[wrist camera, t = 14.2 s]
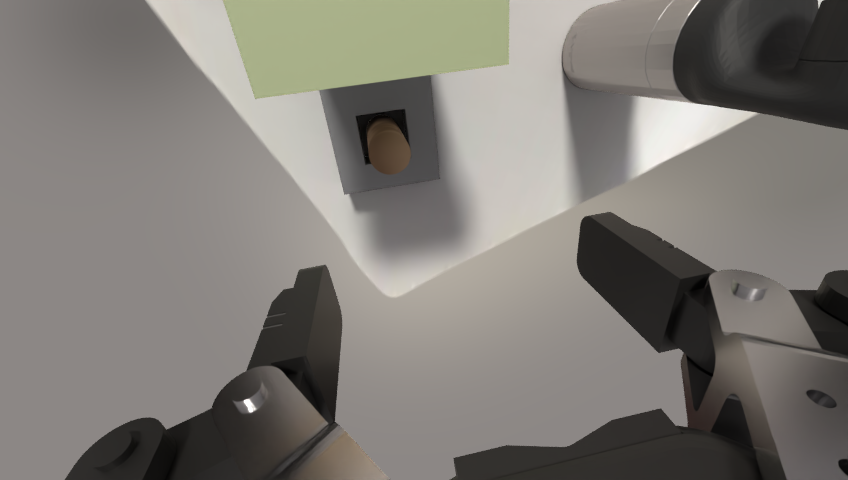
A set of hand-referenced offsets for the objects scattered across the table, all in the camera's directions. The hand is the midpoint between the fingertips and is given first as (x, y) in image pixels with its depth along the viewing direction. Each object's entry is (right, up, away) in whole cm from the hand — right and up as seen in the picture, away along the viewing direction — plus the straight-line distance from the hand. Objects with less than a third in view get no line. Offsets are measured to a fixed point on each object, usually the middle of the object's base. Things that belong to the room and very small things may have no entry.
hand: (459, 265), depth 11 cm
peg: (-6, +15, +32) cm, 36 cm away
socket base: (-7, +18, +30) cm, 36 cm away
